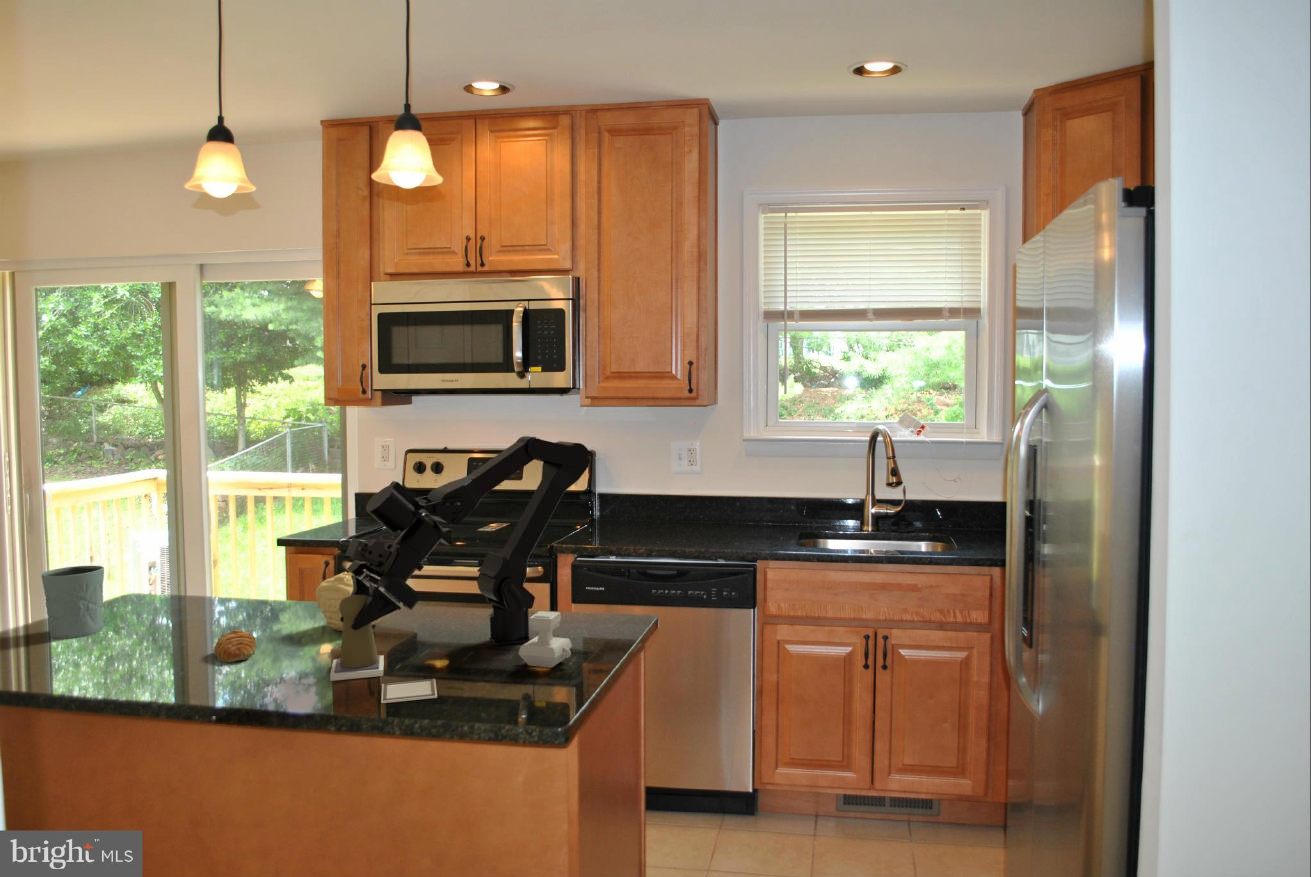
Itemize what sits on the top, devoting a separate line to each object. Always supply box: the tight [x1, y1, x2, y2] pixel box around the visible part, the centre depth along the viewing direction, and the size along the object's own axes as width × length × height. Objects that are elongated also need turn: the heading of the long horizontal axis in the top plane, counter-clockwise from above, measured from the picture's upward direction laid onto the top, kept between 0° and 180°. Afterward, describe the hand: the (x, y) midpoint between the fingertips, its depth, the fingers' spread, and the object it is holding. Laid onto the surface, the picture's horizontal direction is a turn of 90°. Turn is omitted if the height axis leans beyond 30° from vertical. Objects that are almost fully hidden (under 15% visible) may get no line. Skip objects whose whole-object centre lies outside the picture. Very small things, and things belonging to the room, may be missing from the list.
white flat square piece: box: [380, 678, 438, 704], centre depth 142 cm, size 8×8×1 cm
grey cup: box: [41, 565, 105, 640], centre depth 178 cm, size 10×10×12 cm
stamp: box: [518, 610, 573, 669], centre depth 155 cm, size 9×7×8 cm
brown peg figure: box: [339, 595, 378, 668], centre depth 152 cm, size 6×6×11 cm
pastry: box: [213, 629, 258, 664], centre depth 162 cm, size 9×7×4 cm
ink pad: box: [329, 654, 385, 682], centre depth 153 cm, size 8×8×1 cm
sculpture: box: [315, 571, 383, 632], centre depth 179 cm, size 12×12×11 cm
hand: (347, 625), depth 151 cm, fingers closed on brown peg figure, 5 cm apart
